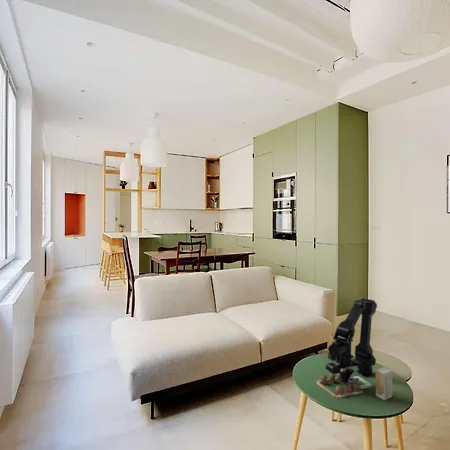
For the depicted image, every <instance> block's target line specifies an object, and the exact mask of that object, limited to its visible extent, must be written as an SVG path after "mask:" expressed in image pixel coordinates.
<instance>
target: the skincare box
mask: <svg viewBox="0 0 450 450" xmlns="http://www.w3.org/2000/svg"><path fill="white" fill-rule="evenodd" d="M375 396H376V397H377V398H380V399H381V400H383V401H385V400H388V399H391V398H392V397H393V370H391V369H390V368H387V367H385V366H382V367H379V368H377V369H375Z"/></svg>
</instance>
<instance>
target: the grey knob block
mask: <svg viewBox="0 0 450 450" xmlns="http://www.w3.org/2000/svg"><path fill="white" fill-rule="evenodd" d="M353 377H354V376H350V378H349V380H348V381H347V383H346V384H349V385H351V389H353V382H357V383H359V380H358V379H354V378H353Z"/></svg>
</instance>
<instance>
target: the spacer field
mask: <svg viewBox="0 0 450 450" xmlns="http://www.w3.org/2000/svg"><path fill="white" fill-rule="evenodd" d="M336 381H338V382H342V383H343V381H342V378H341V375H340V373H338V374H332V373H331V372H330V373H328V375H327V374H321V375H320V379H319V380H316V381H315V382H316V384H317V385H318V386H319V387H321V388H322V389H323V390H324V391H326V392H327V393H328V394H330V395H331V396H332V397H333V398H336V399H340V398H345V397H350V396H355V395H358V394H363V392H364V391H363V390H361V389H360V386H361V384H360V383H359V382H358V383H357V382H353V388H351V385H349V384H344V385H343V386H341V385H336V386H335V393H333V392H332V391H331V390H330V389H329V388H327V387H325V385H328V382H329V383H331V384H335V383H336ZM343 387H344V391H343ZM343 392H344V393H343Z"/></svg>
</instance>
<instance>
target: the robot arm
mask: <svg viewBox="0 0 450 450" xmlns="http://www.w3.org/2000/svg"><path fill="white" fill-rule="evenodd" d="M377 308H378V304H377V302H376V300H374V299H368V298H361V299H356V300H354V302H353V306H352V308H351V309H350V311H349V313H348V315H347V317H346V318H345V319H344V320H343V321H341V322H340V323H339V324H338V325H337V327H336V329H335V332H334V334H333V338H332V339H333V341H332V342H331V344H330V345H329V346H328V347H327V350H328V353H327V358H328V360H330V361H331V362H327V363H326V364H325V370H327V371H328V372H330V373H332V374H335V375H337V374H338V373H340V375H341V378H342V381H343V382H342V384H344V385H345V384H346V383H347V381H348V380H349V378H350V377H352V375H353V373H355V370H354V369H353V368H354V367H357V369H358V370H356V372H357V373H358V374H360V375H361V376H363V377H365V378H368V377H373V376H374V377H375V376H376V373H373V366H375V365H376V361H377V359H376V358H375V356H374V354H373V353H374V351H373V348H372V346H371V330H372V321H373V320H372V318H373V316H374V315H375V313H376V312H377V311H376V310H377ZM360 317H361V324H360V332H359V334H360V335H359V336H360V337H359V343H358V344H357V345H355V347H354V349H355V350H354V355H353V354H352V342H353V341H354V337H355V332H356V329H355V326H356V324H357V322H358V320H359V319H360ZM354 357H355V358H354ZM334 362H335V363H334Z"/></svg>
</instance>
